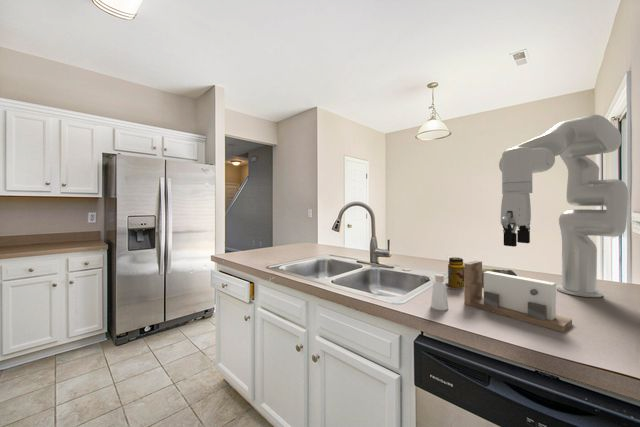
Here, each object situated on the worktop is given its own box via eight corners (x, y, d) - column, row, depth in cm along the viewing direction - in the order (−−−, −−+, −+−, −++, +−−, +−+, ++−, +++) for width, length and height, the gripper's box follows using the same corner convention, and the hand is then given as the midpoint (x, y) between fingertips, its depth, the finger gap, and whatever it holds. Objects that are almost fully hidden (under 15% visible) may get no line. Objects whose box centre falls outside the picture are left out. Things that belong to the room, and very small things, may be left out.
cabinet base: (476, 298, 97) (476, 260, 97) (572, 324, 76) (572, 275, 75) (464, 303, 93) (464, 263, 92) (562, 332, 71) (563, 279, 71)
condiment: (466, 290, 108) (466, 260, 107) (443, 288, 110) (443, 259, 110) (463, 284, 115) (463, 257, 114) (441, 283, 117) (441, 256, 117)
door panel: (487, 300, 92) (487, 271, 91) (555, 317, 77) (555, 283, 77) (482, 302, 89) (482, 272, 89) (550, 321, 75) (550, 285, 74)
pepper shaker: (427, 305, 92) (427, 273, 91) (441, 303, 93) (441, 272, 93) (437, 311, 86) (437, 277, 86) (452, 309, 88) (452, 276, 87)
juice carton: (461, 283, 117) (461, 269, 116) (460, 278, 125) (460, 265, 125) (517, 289, 108) (517, 274, 108) (511, 283, 117) (512, 269, 117)
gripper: (514, 190, 90) (514, 240, 91) (490, 189, 81) (490, 246, 81) (542, 188, 84) (542, 242, 84) (519, 187, 74) (519, 249, 75)
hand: (516, 244), depth 83 cm, fingers open, 9 cm apart
